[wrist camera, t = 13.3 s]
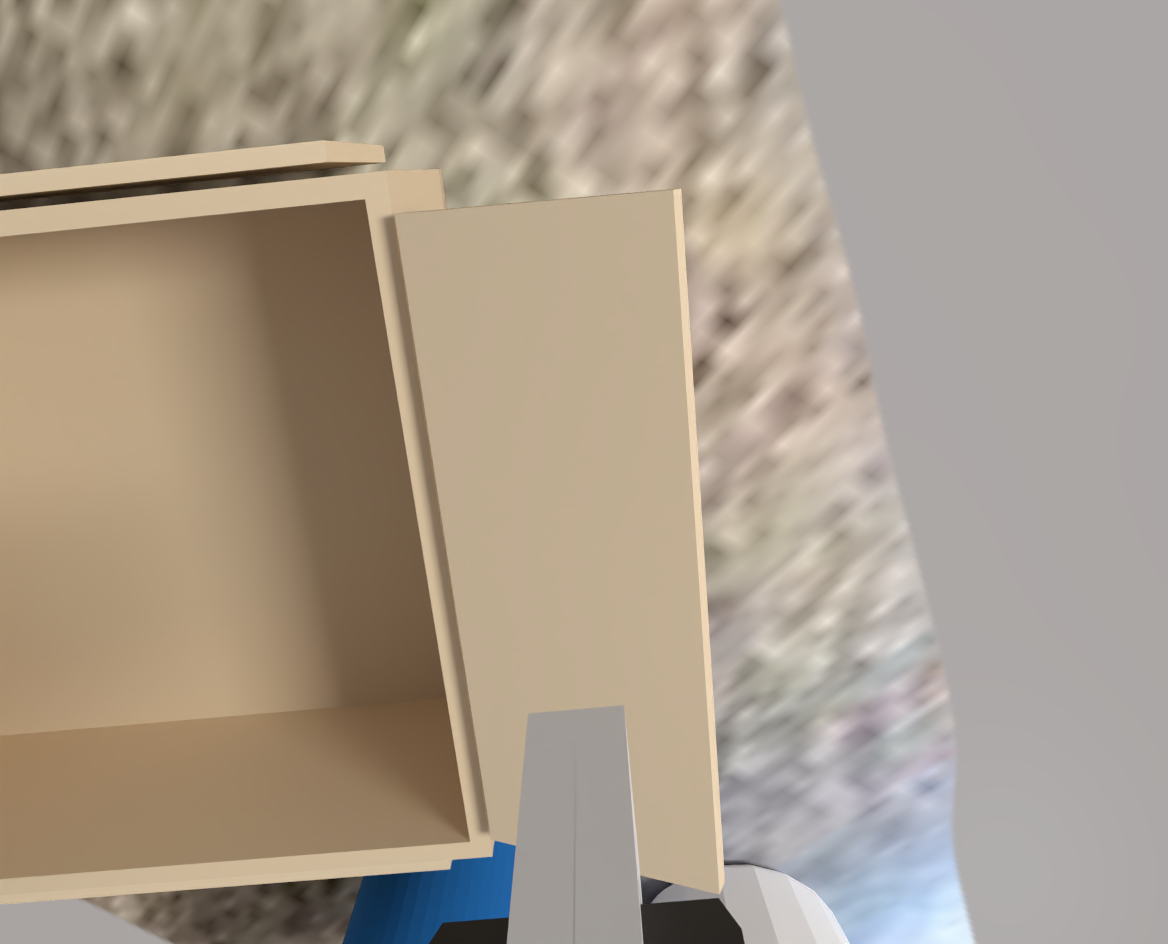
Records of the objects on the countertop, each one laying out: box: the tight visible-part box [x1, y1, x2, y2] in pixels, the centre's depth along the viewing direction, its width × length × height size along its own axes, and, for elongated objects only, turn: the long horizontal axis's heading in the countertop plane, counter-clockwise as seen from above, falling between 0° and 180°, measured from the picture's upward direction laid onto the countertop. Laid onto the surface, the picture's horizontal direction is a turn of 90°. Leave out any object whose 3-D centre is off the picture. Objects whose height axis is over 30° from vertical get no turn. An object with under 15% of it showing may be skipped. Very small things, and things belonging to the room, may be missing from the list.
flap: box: [394, 189, 725, 895], centre depth 24 cm, size 18×1×7 cm
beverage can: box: [343, 841, 516, 944], centre depth 34 cm, size 6×6×12 cm
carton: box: [0, 140, 494, 904], centre depth 30 cm, size 22×22×9 cm
